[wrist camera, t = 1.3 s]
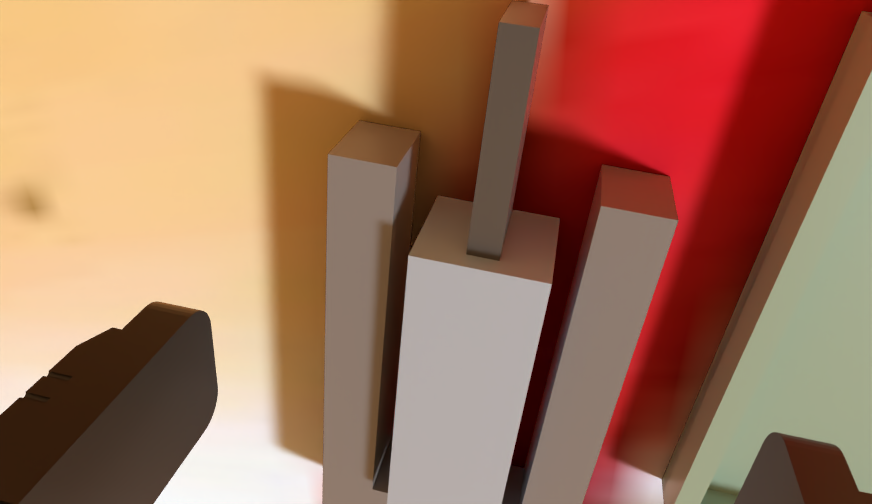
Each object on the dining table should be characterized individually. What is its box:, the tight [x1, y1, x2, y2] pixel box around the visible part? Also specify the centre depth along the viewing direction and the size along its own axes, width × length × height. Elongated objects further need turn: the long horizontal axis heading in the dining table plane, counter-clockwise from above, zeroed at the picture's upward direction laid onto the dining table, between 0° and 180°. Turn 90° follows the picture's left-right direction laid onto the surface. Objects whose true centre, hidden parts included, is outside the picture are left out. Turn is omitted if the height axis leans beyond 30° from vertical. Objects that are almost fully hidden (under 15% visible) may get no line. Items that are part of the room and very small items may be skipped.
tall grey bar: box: [387, 0, 560, 504], centre depth 26 cm, size 22×5×5 cm, turn 174°
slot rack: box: [322, 120, 678, 504], centre depth 29 cm, size 21×12×4 cm, turn 174°
